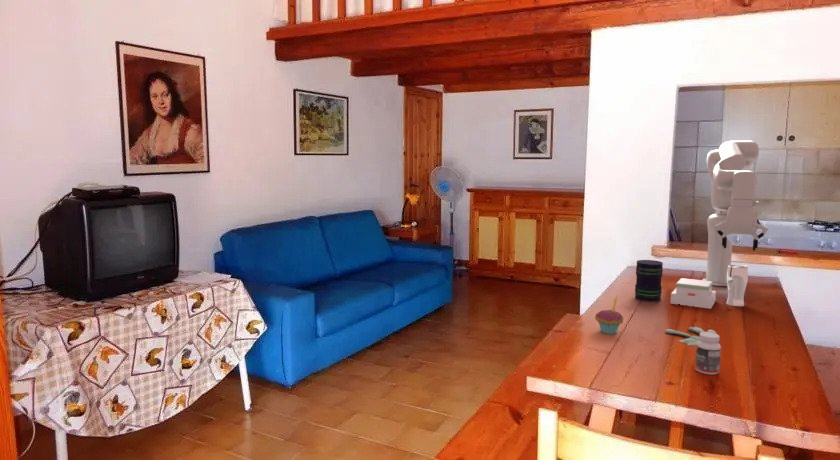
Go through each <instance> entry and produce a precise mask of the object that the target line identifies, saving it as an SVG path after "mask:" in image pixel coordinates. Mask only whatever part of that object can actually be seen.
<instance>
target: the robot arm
mask: <svg viewBox="0 0 840 460" xmlns="http://www.w3.org/2000/svg"><path fill="white" fill-rule="evenodd" d="M759 153H760V149H759V145H758V144H757V143H756V141H754V140H729V141H725V142H723V143H721V145H720V146H719V148H718V149H714V150H710V151H709V152H708V153H707V157H706V166H707V172H708V173H709V176H710V180H711V191H710V192H711V195H710V196H711V199H710V200H711V202H710V203H711V207H712V209H713V210H715V211H721V212H722V213H720V212H719V213H713V214H711V215H709V216H708V218H707V220H706V221H707V222H706V223H707V224H706V225H707V235H708V239H707V241H708V244H707V258H706V270H705V271H706V273H705V275H706V277H705V278H704V277H703V278H702V280H704V281H712V282H713V285H712V286H717V287H727V271H728V265H732V255H733V245H732V242H731V241H730V239H729V238H728V237H727V236H749V235H751V236H752V237H753V240H752V241H753V242H752V251H754V252H755V251H756V249H758V245H759V240H760V239H761V238H763V237H764V236H765V235H766V233H767V232H768V229H769V228H767V227H765V226H763V225H762V224H760V223H758V212H757V207H755V206H759V205H760V203H759V201H757V200H755V196H756V185H757V182H758V181H757V180H758V177H757V176H758V175H757V173H756V172H755V171H753V170H749V169H748V168H750V167H751V166H752V165H753V164H754V163H755V162H756V160H757V159H758V156H759ZM745 169H748V170H745ZM723 212H727V213H723ZM757 229H759V230H761V233H759V234H758V233H757Z"/></svg>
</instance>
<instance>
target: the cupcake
mask: <svg viewBox="0 0 840 460" xmlns="http://www.w3.org/2000/svg"><path fill="white" fill-rule="evenodd" d="M617 298H618V296H617V295H616V296H615V298H614V301H613V305H612V309H603V310H600V311H598V312H597V313H596V314H595V317H594V318H595V321H597V322H598V324H599V328H600V332H601V333H603V334H608V335H613V334H614V335H615V334H616V333H617V332H618V329H619V327H620V325H621V324H623V322H624V316H623V315H622V314H621V313H620V312H618V311H616V305H617V300H618V299H617Z"/></svg>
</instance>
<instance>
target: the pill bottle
mask: <svg viewBox="0 0 840 460" xmlns="http://www.w3.org/2000/svg"><path fill="white" fill-rule="evenodd" d="M698 335H699V334H698ZM698 337H699V338H700V341H698V342H697V346H696V351H695V364H694V366H695V367H694V369H695V370H696V371H697V372H699V373H702V374H705V375H711V376H712V375H717V374H719V373H720V369H721V368H720V367H721V355H722V353H721V352H722V346H721V344H720V343H719V342H720V340H721V339H720V335H719V334H718V335H717V334H715V333H710V332H708V331H706V332H705V331H704V332H701V333H700V335H699V336H698ZM719 339H720V340H719Z"/></svg>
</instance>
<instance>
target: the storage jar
mask: <svg viewBox="0 0 840 460" xmlns="http://www.w3.org/2000/svg"><path fill="white" fill-rule="evenodd" d="M663 265H664V262H662V261H659V260H654V259H653V260H652V259H651V260H650V259H639V260H636V265H635V267H636V268H635V275H636V278H635V279H636V280H635V286H634V299H636V300H638V301H641V302H647V303H654V302H655V303H656V302H660V301H661V300H662V298H661V297H662V289H663V287H662V277H663V271H664V269H663Z"/></svg>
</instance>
